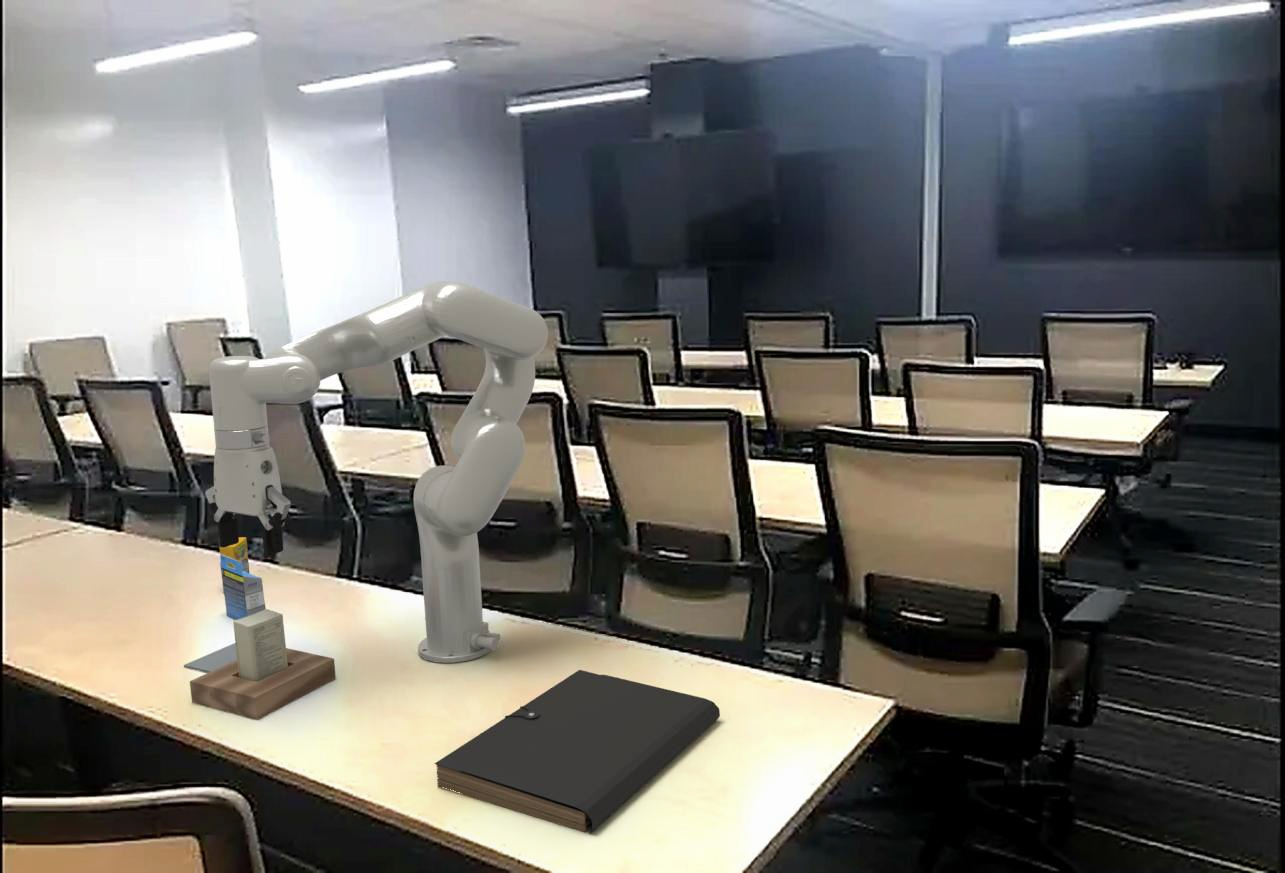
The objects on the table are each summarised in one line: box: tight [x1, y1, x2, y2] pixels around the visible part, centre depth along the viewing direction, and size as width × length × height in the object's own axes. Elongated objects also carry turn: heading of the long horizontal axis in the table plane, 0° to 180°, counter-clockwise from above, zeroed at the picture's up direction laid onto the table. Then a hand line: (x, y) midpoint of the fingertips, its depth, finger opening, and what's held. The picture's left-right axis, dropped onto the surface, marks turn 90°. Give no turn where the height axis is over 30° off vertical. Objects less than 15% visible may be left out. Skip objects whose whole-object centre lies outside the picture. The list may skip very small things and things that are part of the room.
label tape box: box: [219, 554, 267, 620], centre depth 198 cm, size 9×4×12 cm, turn 48°
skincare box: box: [232, 608, 288, 682], centre depth 165 cm, size 6×4×12 cm
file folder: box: [434, 669, 721, 835], centre depth 143 cm, size 33×4×24 cm
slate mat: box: [183, 642, 237, 674], centre depth 179 cm, size 12×12×1 cm
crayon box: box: [218, 536, 250, 594], centre depth 216 cm, size 7×3×12 cm, turn 179°
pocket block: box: [189, 647, 337, 721], centre depth 166 cm, size 14×16×4 cm
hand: (251, 549), depth 162 cm, fingers open, 9 cm apart
